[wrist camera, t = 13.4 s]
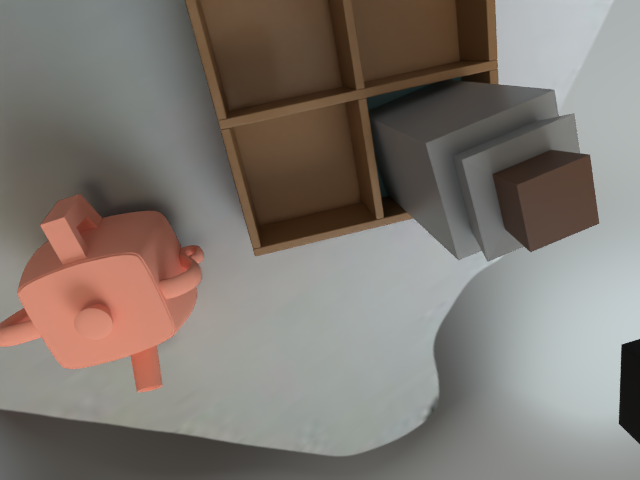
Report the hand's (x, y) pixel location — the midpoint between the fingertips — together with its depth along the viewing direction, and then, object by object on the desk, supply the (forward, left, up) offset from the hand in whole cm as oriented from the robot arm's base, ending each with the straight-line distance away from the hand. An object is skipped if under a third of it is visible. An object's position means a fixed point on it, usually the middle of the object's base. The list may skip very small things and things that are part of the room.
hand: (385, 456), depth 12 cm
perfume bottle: (-2, +10, -27) cm, 28 cm away
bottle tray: (-6, +6, -27) cm, 28 cm away
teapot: (+4, -14, -27) cm, 31 cm away
